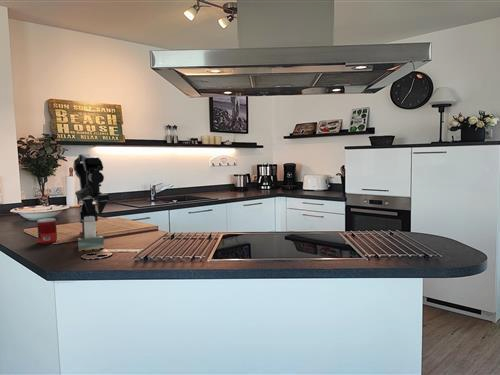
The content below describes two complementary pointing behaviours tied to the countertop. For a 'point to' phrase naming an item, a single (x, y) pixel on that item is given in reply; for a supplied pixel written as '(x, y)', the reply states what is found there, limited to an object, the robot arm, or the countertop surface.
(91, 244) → the stand
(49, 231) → the canned food
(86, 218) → the mill
